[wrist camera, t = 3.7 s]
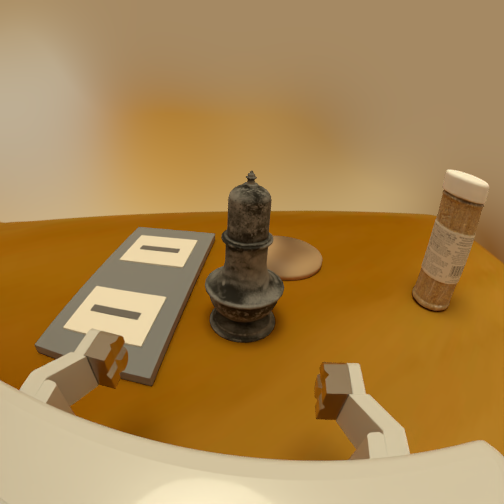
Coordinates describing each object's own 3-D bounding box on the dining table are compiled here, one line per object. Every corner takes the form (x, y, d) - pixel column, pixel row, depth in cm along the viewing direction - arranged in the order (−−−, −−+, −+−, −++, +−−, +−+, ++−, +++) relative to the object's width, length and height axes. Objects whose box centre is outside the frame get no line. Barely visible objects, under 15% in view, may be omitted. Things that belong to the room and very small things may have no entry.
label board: (38, 352, 18) (33, 342, 18) (139, 232, 38) (138, 225, 37) (151, 385, 18) (149, 376, 17) (214, 239, 37) (215, 231, 37)
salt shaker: (271, 297, 28) (285, 163, 22) (285, 342, 23) (310, 185, 17) (205, 299, 27) (204, 161, 21) (207, 346, 22) (205, 182, 16)
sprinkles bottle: (437, 288, 30) (471, 173, 24) (454, 312, 26) (499, 187, 20) (404, 287, 30) (437, 164, 24) (420, 313, 26) (464, 178, 20)
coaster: (235, 275, 31) (235, 270, 30) (245, 237, 38) (245, 232, 38) (325, 284, 30) (326, 279, 30) (317, 244, 38) (317, 239, 38)
